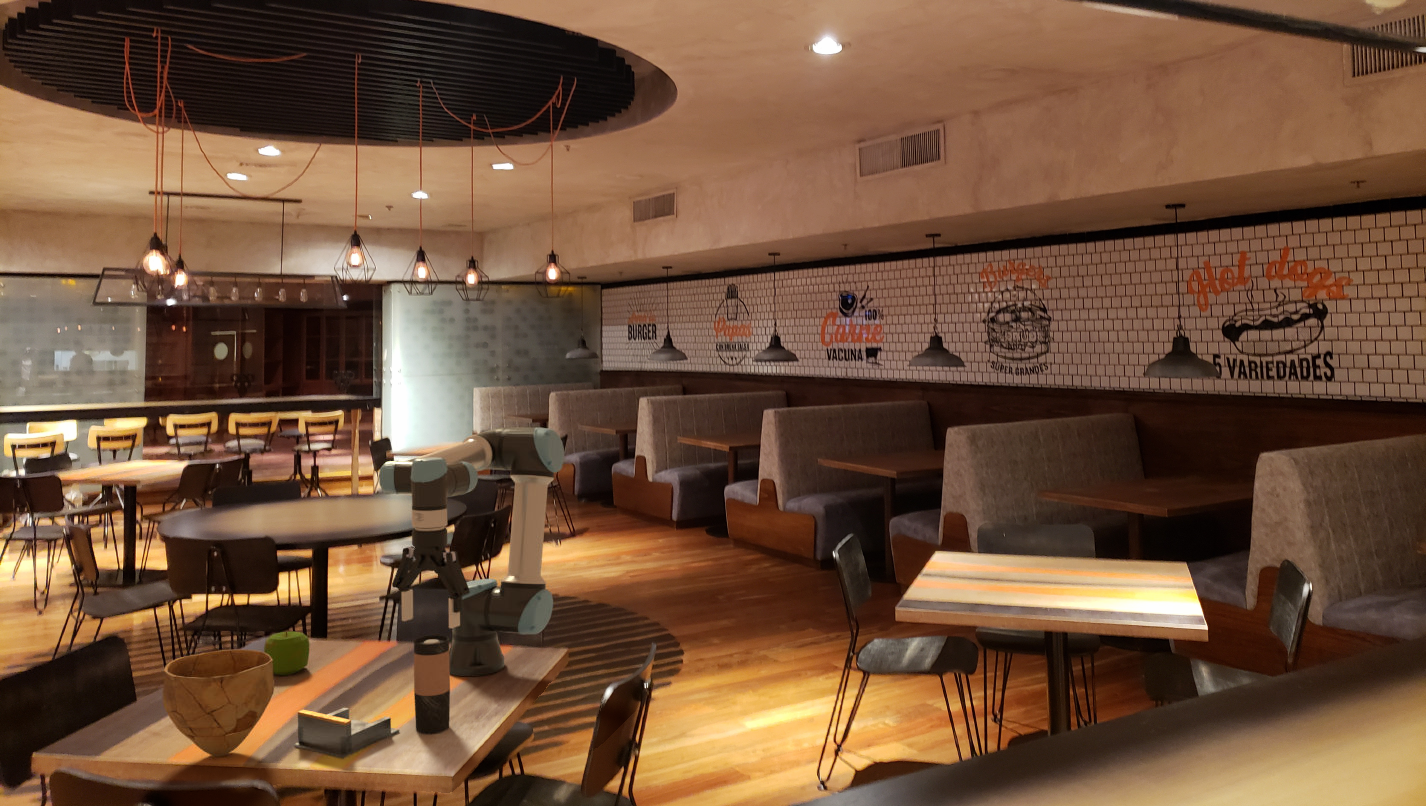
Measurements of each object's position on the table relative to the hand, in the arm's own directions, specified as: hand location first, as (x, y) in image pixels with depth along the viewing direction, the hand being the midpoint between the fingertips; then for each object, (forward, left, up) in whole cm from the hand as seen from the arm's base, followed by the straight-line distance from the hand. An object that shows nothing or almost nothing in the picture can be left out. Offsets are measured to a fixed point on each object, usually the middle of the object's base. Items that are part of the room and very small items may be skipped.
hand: (430, 623), depth 216 cm
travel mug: (0, 0, -24) cm, 24 cm away
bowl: (+31, -29, -24) cm, 49 cm away
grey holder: (+13, -12, -24) cm, 30 cm away
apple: (-14, -63, -24) cm, 69 cm away
